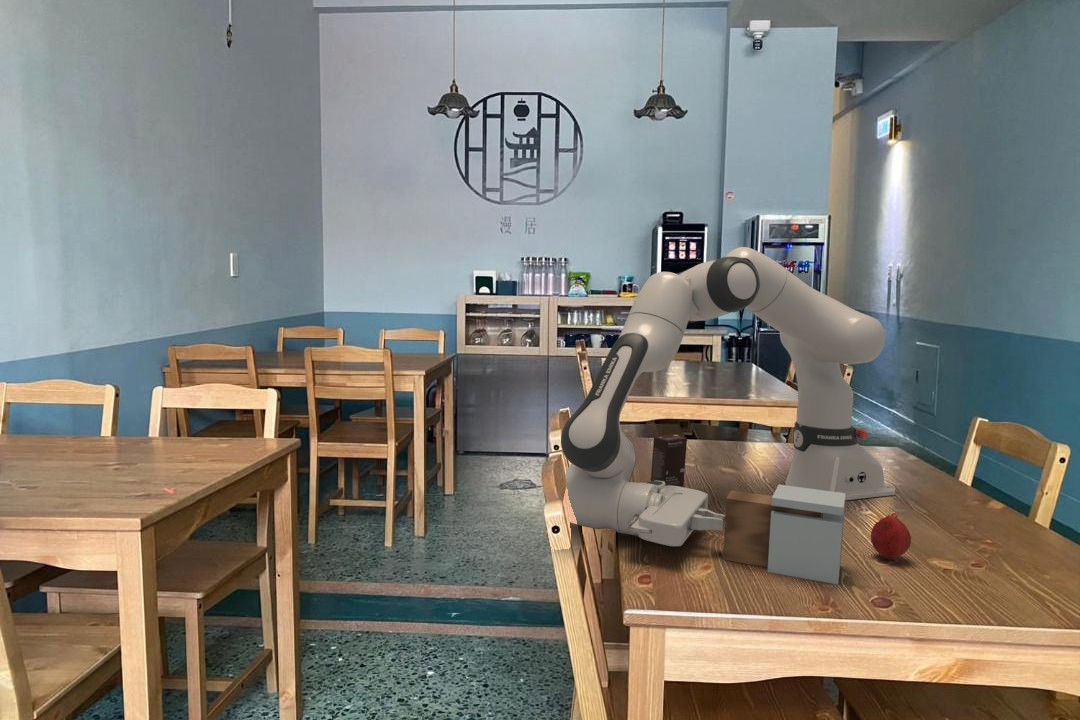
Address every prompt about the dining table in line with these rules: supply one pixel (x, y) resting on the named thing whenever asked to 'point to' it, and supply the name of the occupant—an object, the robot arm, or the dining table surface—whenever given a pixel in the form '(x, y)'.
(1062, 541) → the dining table surface
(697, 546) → the dining table surface
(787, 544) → the grey slotted cube
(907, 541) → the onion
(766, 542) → the walnut block
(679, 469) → the box
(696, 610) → the dining table surface
